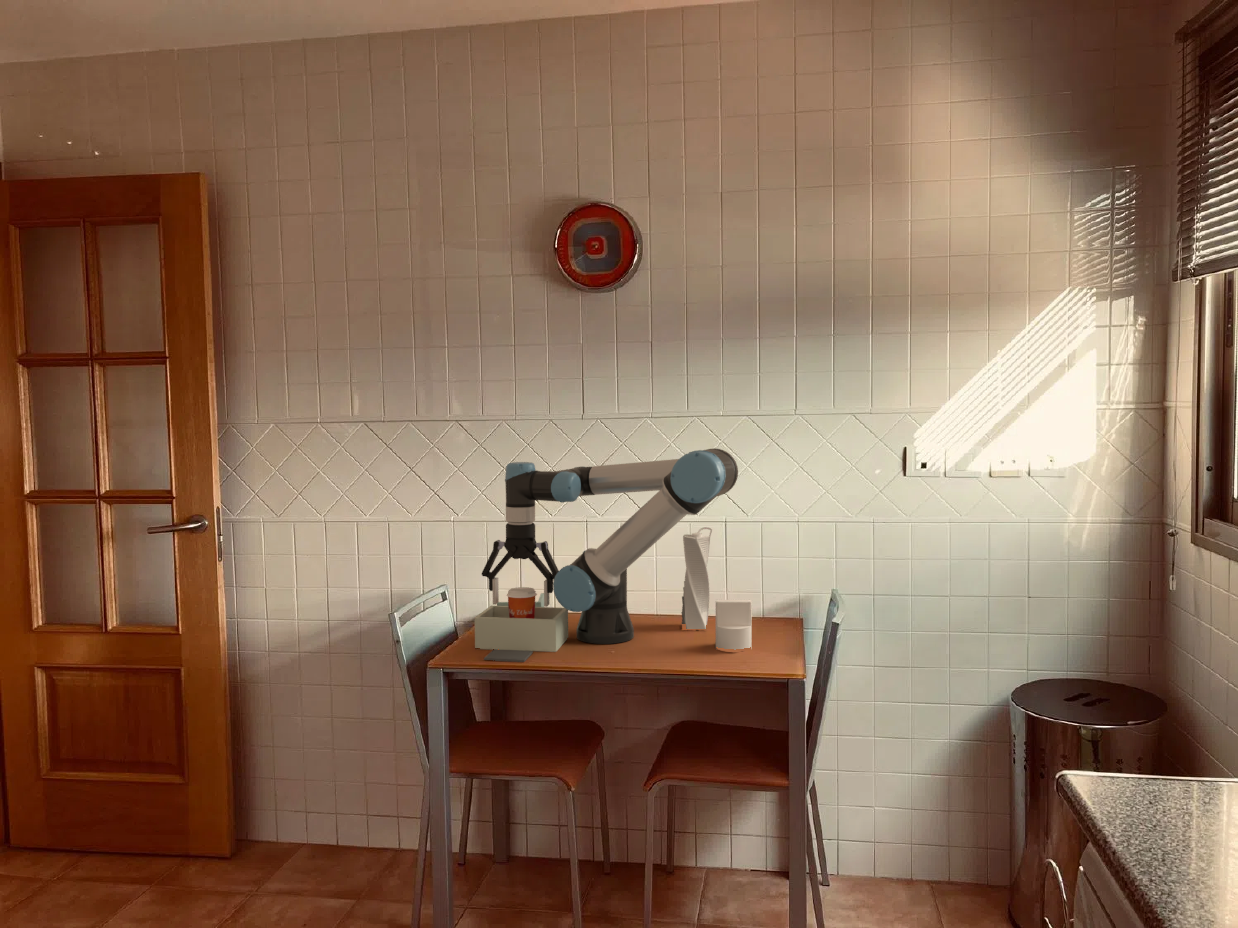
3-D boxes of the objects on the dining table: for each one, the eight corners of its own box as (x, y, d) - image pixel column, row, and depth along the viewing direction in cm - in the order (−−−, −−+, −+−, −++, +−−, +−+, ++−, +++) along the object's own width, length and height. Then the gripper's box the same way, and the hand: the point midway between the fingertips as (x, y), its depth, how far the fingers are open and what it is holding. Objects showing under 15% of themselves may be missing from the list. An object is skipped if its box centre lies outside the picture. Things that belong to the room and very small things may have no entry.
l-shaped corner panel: (544, 619, 276) (544, 593, 275) (541, 629, 264) (540, 602, 263) (502, 619, 276) (501, 593, 275) (497, 629, 264) (496, 602, 263)
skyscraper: (711, 625, 268) (711, 525, 266) (712, 633, 260) (712, 529, 258) (681, 625, 268) (681, 525, 266) (680, 632, 260) (680, 529, 258)
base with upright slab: (716, 652, 239) (716, 604, 238) (714, 643, 248) (714, 597, 247) (753, 652, 239) (753, 604, 238) (749, 643, 248) (749, 597, 247)
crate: (568, 637, 255) (568, 607, 254) (556, 651, 241) (555, 620, 240) (491, 634, 258) (491, 605, 258) (475, 648, 244) (474, 617, 244)
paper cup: (504, 646, 246) (503, 592, 245) (511, 639, 254) (510, 586, 253) (534, 647, 245) (533, 592, 244) (540, 639, 253) (539, 586, 252)
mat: (532, 653, 240) (532, 650, 240) (524, 662, 232) (524, 659, 232) (493, 651, 242) (493, 649, 242) (484, 660, 234) (483, 657, 234)
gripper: (571, 521, 249) (571, 602, 251) (478, 519, 253) (479, 599, 255) (564, 525, 241) (565, 609, 243) (469, 523, 246) (469, 605, 247)
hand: (521, 604), depth 249 cm, fingers open, 13 cm apart
